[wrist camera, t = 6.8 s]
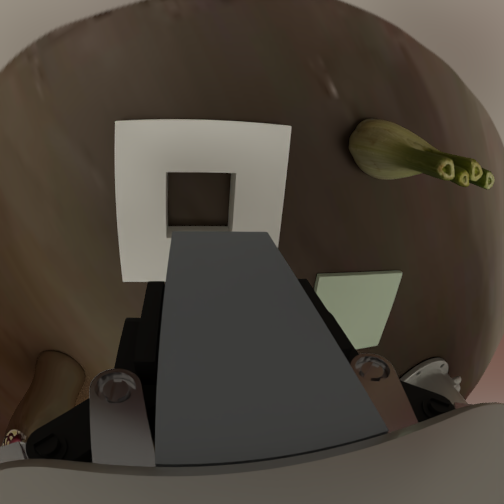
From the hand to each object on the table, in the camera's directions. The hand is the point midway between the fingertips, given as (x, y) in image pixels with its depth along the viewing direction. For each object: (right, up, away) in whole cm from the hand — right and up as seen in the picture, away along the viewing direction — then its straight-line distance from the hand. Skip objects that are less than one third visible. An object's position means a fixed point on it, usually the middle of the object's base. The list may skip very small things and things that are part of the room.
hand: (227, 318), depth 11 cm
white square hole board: (-3, +7, +13) cm, 15 cm away
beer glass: (-20, -11, +18) cm, 29 cm away
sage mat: (+11, -4, +21) cm, 25 cm away
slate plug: (-1, +1, +3) cm, 3 cm away
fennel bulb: (+11, +12, +14) cm, 21 cm away
